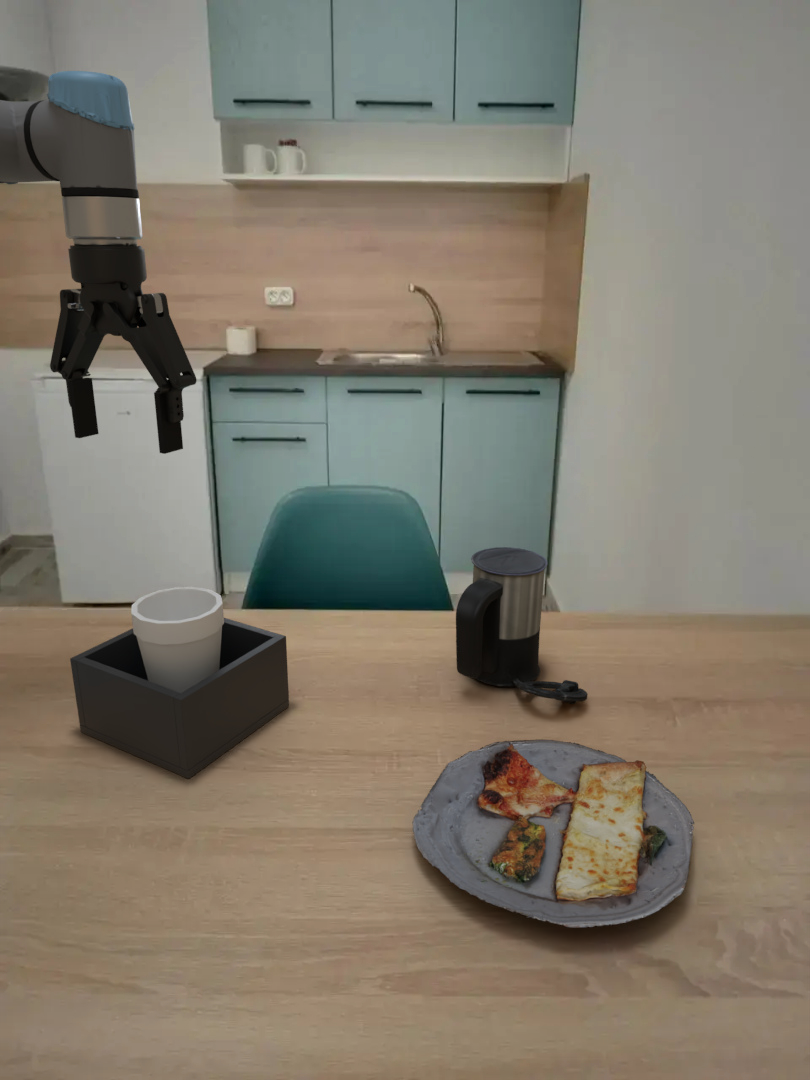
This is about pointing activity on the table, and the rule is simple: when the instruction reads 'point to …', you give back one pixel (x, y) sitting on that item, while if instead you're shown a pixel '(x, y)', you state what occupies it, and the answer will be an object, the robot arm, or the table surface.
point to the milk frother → (506, 624)
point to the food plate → (557, 832)
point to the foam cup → (179, 635)
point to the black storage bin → (181, 699)
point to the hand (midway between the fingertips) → (127, 443)
